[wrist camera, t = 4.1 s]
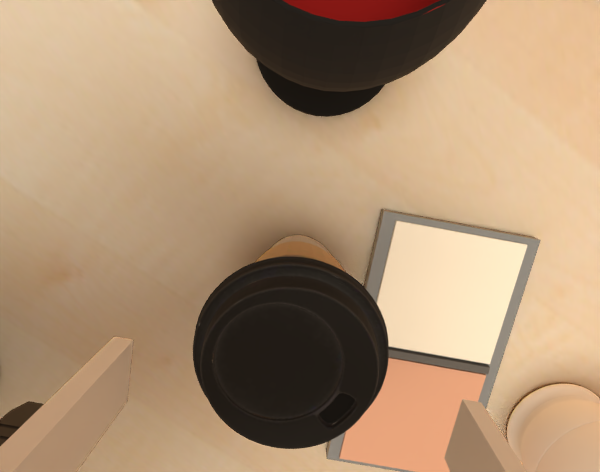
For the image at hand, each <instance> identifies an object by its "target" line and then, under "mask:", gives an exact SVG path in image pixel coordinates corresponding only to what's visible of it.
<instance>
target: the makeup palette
mask: <svg viewBox="0 0 600 472" xmlns="http://www.w3.org/2000/svg"><path fill="white" fill-rule="evenodd" d="M539 243H540V240H539V239H536V238H534V237H529V236H524V235H519V234H513V233H508V232H502V231H497V230H492V229H486V228H481V227H475V226H470V225H465V224H459V223H454V222H449V221H443V220H438V219H432V218H427V217H422V216H416V215H411V214H405V213H400V212H395V211H389V210H384V209H382V211H381V215H380V219H379V224H378V228H377V232H376V237H375V241H374V245H373V250H372V254H371V258H370V263H369V267H368V271H367V276H366V280H365V284H364V288H365V289H366V290H367V291H368V292H369V294H370V295H371V296H372V297H373V299H374V300H375V302H376V304H377V305H378V307H379V309H380V311H381V313H382V316H383V318H384V321H385V324H386V328H387V333H388V342H389V359H388V368H387V373H386V377H385V380H384V383H383V385H382V388H381V390H380V392H379V394H378V395H377V397H376V399H375V400H374V402H373V403H372V404H371V406H370V407H369V408H368V409H367V411H366V412H365V413H364V414H363V415H362V417H361V418H360V419H359V420H358V421H357V422H356V423H355V424H354V425H353V426H352V427H351V428H350V429H348V430H347V431H346V432H344V433H343V434H341V435H340V436H338V437H336V438H334V439H332V440H330V441H328V445H327V449H326V455H327V459H331V460H336V461H342V462H348V463H354V464H360V465H366V466H371V467H377V468H383V469H389V470H395V471H401V472H450V470H449V468H448V465H447V463H446V460H445V458H444V457H445V454H446V451H447V447H448V444H449V441H450V438H451V434H452V431H453V428H454V425H455V421H456V418H457V415H458V412H459V408H460V405H461V402H462V399H465V400H470V401H476V402H481V403H482V404H483V406H484V407H485V409H486V407H487V404H488V401H489V398H490V395H491V391H492V388H493V385H494V382H495V379H496V376H497V373H498V370H499V367H500V364H501V361H502V357H503V354H504V351H505V348H506V345H507V342H508V339H509V336H510V333H511V330H512V327H513V324H514V320H515V317H516V314H517V311H518V308H519V305H520V302H521V299H522V296H523V293H524V290H525V286H526V283H527V280H528V277H529V274H530V271H531V268H532V265H533V262H534V259H535V256H536V253H537V249H538V246H539Z"/></svg>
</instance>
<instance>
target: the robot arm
mask: <svg viewBox="0 0 600 472" xmlns="http://www.w3.org/2000/svg"><path fill="white" fill-rule="evenodd" d="M133 341H134V340H132V339H127V338H121V337H116V336H114V337H113V338H112V339H111V340H110V341H109V342H108V343H107V344H106V345H105V346H104V347H103V348H102V349H101V350H100V351H98V352H97V353H96V354H95V355H94V356H93V357H92V358H91V359H90V360H89V361H88V362H87V363H86V364H85V365H84V366H83V367H82V368H81V369H80V370H79V371H78V372H77V373H76V374H75V375H74V376H73V377H72V378H71V379H70V380H69V381H67V382H66V383H65V384H64V385H63V386H62V387H61V388H60V389H59V390H58V391H57V392H56V393H55V394H54V395H53V396H52V397H51V398H50V399H49V400H48V401H47V402H46V403H45V404H40V403H35V402H27V403H25V404H23V405H21V406H19V407H17V408H15V409H13V410H11V411H10V412H8V413H7V414H6V415H5V416H4V417H3V418H2V419H0V472H77V471H78V469H79V468H80V467H81V465H82V464H83V462H84V461H85V460H86V458H87V457H88V455H89V454H90V453H91V451H92V450H93V448H94V447H95V446H96V444H97V443H98V441H99V440H100V439H101V437H102V436H103V435H104V433H105V432H106V430H107V429H108V428H109V426H110V425H111V423H112V422H113V421H114V419H115V418H116V416H117V415H118V414H119V412H120V411H121V410H122V408H123V407H124V405H125V404H126V403H127V401H128V391H129V381H130V371H131V361H132V351H133ZM444 458H445V460H446V463H447V465H448V468H449V470H450V472H527V471H526V469H525V468H524V466H523V465H522V463H521V462H520V460H519V459H518V457H517V456H516V454H515V453H514V451H513V450H512V448H511V447H510V445H509V444H508V442H507V441H506V439H505V438H504V436H503V435H502V433H501V431H500V430H499V428H498V427H497V425H496V424H495V422H494V421H493V419H492V418H491V416H490V415H489V413H488V412H487V410H486V409H485V407H484V406H483V404H482V403H481V402H476V401H470V400H465V399H462V402H461V405H460V408H459V412H458V415H457V418H456V421H455V425H454V428H453V431H452V434H451V438H450V441H449V444H448V447H447V451H446V454H445V457H444Z"/></svg>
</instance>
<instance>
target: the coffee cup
mask: <svg viewBox="0 0 600 472" xmlns="http://www.w3.org/2000/svg"><path fill="white" fill-rule="evenodd" d="M388 359H389V342H388V333H387V328H386V324H385V321H384V318H383V316H382V313H381V311H380V309H379V307H378V305H377V304H376V302H375V300H374V299H373V297H372V296H371V295H370V294H369V292H368V291H367V290H366V289H365V288H364V287H363V286H362V285H361V284H360V283H359V282H358V281H357V280H356V279H354V278H353V277H352V276H350V275H349V274H347V273H346V272H345V271H344V269H343V268H342V266H341V265H340V264H339V262H338V261H337V260H336V259H335V258H334V257H333V256H332V255H331V254H330V252H329V251H328V250H327V249H326V248H325V247H324V246H323V245H322V244H321V243H319V242H318V241H316V240H315V239H312V238H310V237H307V236H303V235H292V236H288V237H285V238H283V239H281V240H280V241H278V242H277V243H275V244H274V245H273V246H272V247H271V248H270V249H269V250H268V251H266V252H265V253H264V254H262V255H261V257H260V258H259V259H258V260H257V261H256V262H255V263H252V264H250V265H248V266H245V267H243V268H241V269H240V270H238V271H236V272H235V273H233V274H232V275H230V276H229V277H228V278H226V279H225V280H224V281H223V282H222V283H221V284H220V285H219V286H218V287H217V288H216V289H215V290H214V291H213V293H212V294H211V295H210V296H209V298H208V300H207V301H206V303H205V305H204V306H203V308H202V310H201V313H200V315H199V318H198V322H197V325H196V330H195V336H194V343H193V360H194V367H195V372H196V375H197V378H198V381H199V383H200V386H201V388H202V390H203V392H204V394H205V395H206V397H207V398H208V400H209V402H210V404H211V406H212V407H213V409H214V410H215V412H216V413H217V414H218V416H219V417H220V418H221V419H222V420H223V421H224V422H225V423H226V424H227V425H228V426H229V427H230V428H232V429H233V430H234V431H236V432H237V433H239V434H240V435H242V436H244V437H246V438H248V439H249V440H252V441H254V442H257V443H260V444H263V445H266V446H270V447H276V448H285V449H297V448H306V447H312V446H316V445H319V444H323V443H325V442H328V441H330V440H332V439H334V438H336V437H338V436H340V435H341V434H343V433H344V432H346V431H347V430H348V429H350V428H351V427H352V426H353V425H354V424H355V423H356V422H357V421H358V420H359V419H360V418H361V417H362V415H363V414H364V413H365V412H366V411H367V409H368V408H369V407H370V406H371V404H372V403H373V402H374V400H375V399H376V397H377V395H378V394H379V392H380V390H381V388H382V385H383V383H384V380H385V377H386V373H387V368H388Z"/></svg>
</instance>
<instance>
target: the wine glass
mask: <svg viewBox="0 0 600 472" xmlns="http://www.w3.org/2000/svg"><path fill="white" fill-rule="evenodd" d="M212 1H213V4H214V6H215V8H216V9H217V11H218V12H219V14H220V15H221V17H222V19H223V20H224V22H225V23H226V25H227V26H228V28H229V29H230V31H231V32H232V33H233V35H234V36H235V37H236V38H237V39H238V40H239V42H240V43H241V44H242V45H243V46H244V47H245V49H246V50H247V51H248V52H249V53H250V54H252V55H253V56H254V57H255V58H256V59H257V63H258V66H259V69H260V71H261V73H262V75H263V78H264V79H265V81H266V82H267V84H268V85H269V87H270V88H271V89H272V91H273V92H274V93H275V94H276V95H277V96H278V97H279V98H280V99H281V100H282V101H284V102H285V103H286V104H288V105H289V106H291V107H293V108H294V109H296V110H299V111H301V112H304V113H306V114H310V115H315V116H336V115H341V114H345V113H348V112H351V111H353V110H355V109H357V108H360V107H361V106H363V105H364V104H366V103H367V102H369V101H370V100H371V99H372V98H373V97H374V96H375V95H376V94H378V93H379V91H380V90H381V89H382V88H383V86H384V85H385V84H386V83H390V82H392V81H394V80H396V79H398V78H400V77H403V76H405V75H407V74H409V73H411V72H412V71H414V70H415V69H417V68H418V67H420V66H421V65H423V64H424V63H426V62H427V61H429V60H430V59H432V58H433V57H435V56H436V55H437V54H438V53H439V52H441V51H442V50H443V49H444V48H445V47H446V46H447V45H448V44H449V43H451V42H452V41H453V40H454V39H455V38H456V37H457V36H458V35H459V34H460V33H461V32H462V31H463V30H464V28H465V27H466V26H467V25H468V23H469V22H470V21H471V20H472V19H473V17H474V16H475V15H476V14H477V13H478V11H479V10H480V9H481V7H482V6H483V4H484V3H485V2H486V0H212Z"/></svg>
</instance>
